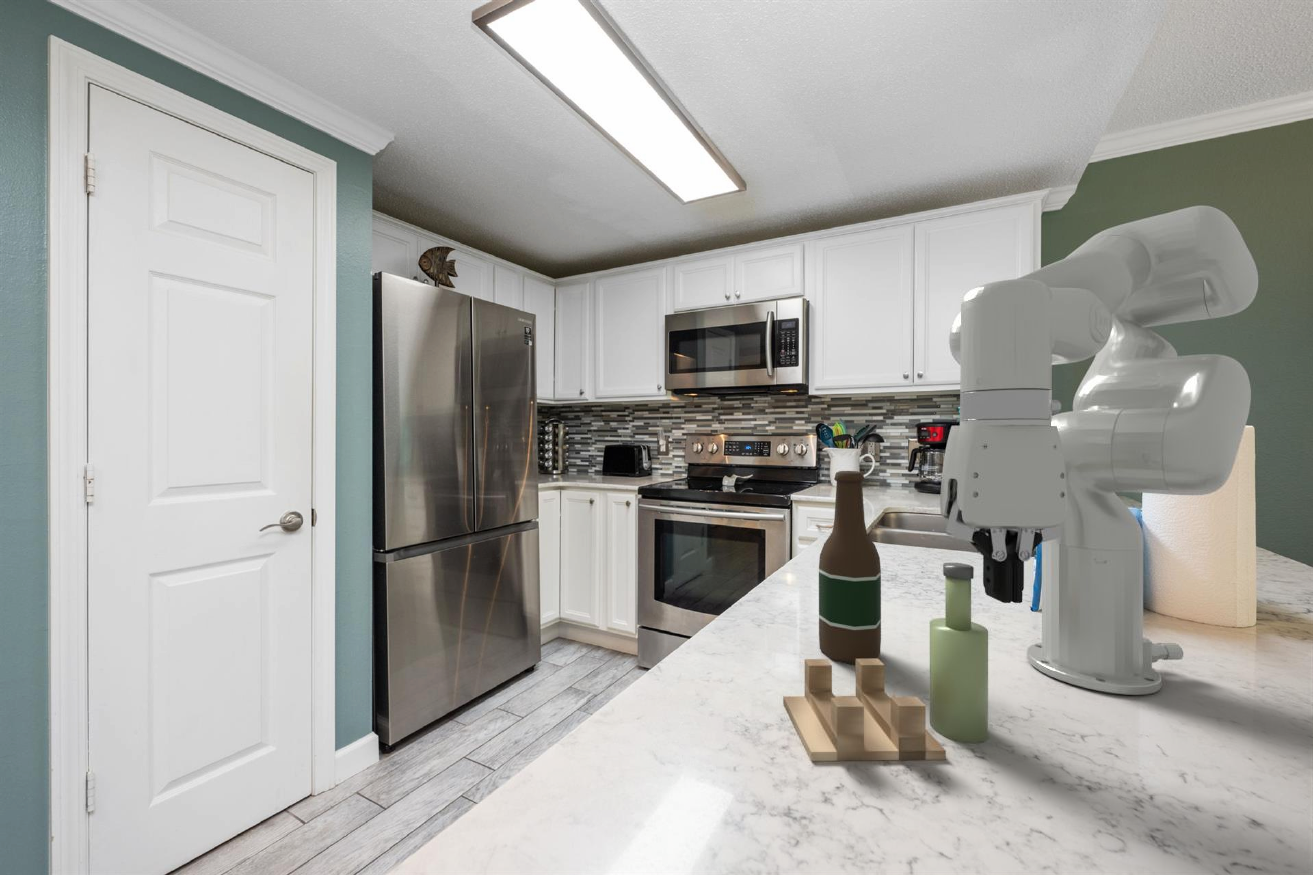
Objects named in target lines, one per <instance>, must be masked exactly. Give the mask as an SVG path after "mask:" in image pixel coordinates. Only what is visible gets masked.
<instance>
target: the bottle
mask: <svg viewBox="0 0 1313 875" xmlns="http://www.w3.org/2000/svg"><path fill="white" fill-rule="evenodd" d="M942 567H943V568H942V575H943V576H945V580H944V581H945V585H944V586H945V588H944V590H945V593H944V596H945V609H944V610H945V611H944V613H945V617H941V618H940V617H938V618H934V619H931V620H930V621H929V725H930V727H931V728H932V729H933V730H934V731H935V732H936V733H938V734H939V735H942V736H943V737H945V738H947V739H950V740H953V741H957V742H959V743H960V742H962V743H967V744H978V743H983V742H985V741H986V740H987V739H988V738H989V630H988V628H986V627H985V626H983V625H981V624H978V623H976V622H973V621H972V580H973V579H974V578H975V577H974V572H975V571H974V569H975V568H974V566H973V565H970V564H967V563H961V562H944V563H943V564H942Z"/></svg>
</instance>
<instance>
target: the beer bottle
mask: <svg viewBox="0 0 1313 875" xmlns="http://www.w3.org/2000/svg"><path fill="white" fill-rule="evenodd" d="M833 480H834V481H835V482H836V488H835V502H834V505H835V506H834V517H833V518H834V519H833V520H834V522H833V525H832V530H831V531H832V532H831V533H830V535H829V536H828V537H827V538H826V540H825V542H824V543H823V545H822V549H821V551H820V554H819V559H818V560H819V561H818V562H819V563H818V640H819V644H818V645H819V649H820V650H819V651H820V652H822V653H823V654H824V655H825V656H827V657H828V658H829V659H830V660H831V661H834V662H840V663H845V664H848V665H853V666H856V659H878V657H879V656H880V654H881V647H882V646H881V644H882V568H881V558H880V554H879V552H878V550H877V547H876V545H875V543H874V541H873V540H872V538H871V537H870V536H869V534H868V532H867V526H866V522H865V507H864V493H863V492H864V491H863V482H864V481H865V476H864V473H863V472H861V471H858V470H857V471H856V470H839V471H837V472H835V474H834V478H833Z"/></svg>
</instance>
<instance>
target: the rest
mask: <svg viewBox="0 0 1313 875" xmlns="http://www.w3.org/2000/svg"><path fill="white" fill-rule="evenodd" d="M782 701H783V706H784V708H785V711H786V712H787V715H788V717H789V718H790V721H791V723H792V725H793V727H794V728H795V731H796V733H797V735H798V737H799V739H800V741H801V743H802V745H803V747H804V749H805V751H806V754H807V756H808V757H809V759H810V761H811V762H823V761H824V762H825V761H827V762H832V761H833V762H834V761H835V762H840V761H850V762H851V761H852V762H853V761H920V760H922V761H923V760H924V761H927V760H928V761H932V760H933V761H935V760H936V761H937V760H941V761H942V760H946V759H947V753H946V752H947V750H946V749H945V748H944V747H943V746H942V745H941V743H939V741H937V739H936V738H935V737H934V736H933V735H932V734H931V733H930V731H928V730H927V728H926V726H927V725H926V722H927V721H926V716H927V714H926V711H927V710H926V704H925V703H923V701H922V700H921V699H919V698H918V697H917V696H900V697H899V696H896V695H888V694H887V693H886V692H885V664H884V663H883V662H882V661H881V660H880V659H879V658H877V659H856V665H855V695H834V692H833V665H832V664H831V663H830V661H829V659H828V658H804V696H798V695H797V696H795V695H794V696H782Z"/></svg>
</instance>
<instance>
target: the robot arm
mask: <svg viewBox="0 0 1313 875" xmlns="http://www.w3.org/2000/svg"><path fill="white" fill-rule="evenodd" d="M1242 236H1243V235H1242V234H1241V232H1240V231H1239V229H1238V227H1237V225H1236V224H1235V223H1234V222H1233V220H1232V219H1231V217H1229V216H1228V215H1227V213H1225V212H1223V211H1222V210H1220V209H1218V208H1216V207H1213V206H1210V205H1195V206H1194V205H1193V206H1190V207H1185V208H1182V209H1176V210H1174V211H1173V210H1172V211H1170V212H1167V213H1166V212H1165V213H1162V214H1158V215H1154V216H1149V217H1146V218H1141V219H1137V220H1134V221H1130V222H1129V221H1128V222H1127V223H1123V224H1119V225H1116V226H1112V227H1109V228H1107V229H1105V230H1102V231H1100V232H1098V233H1096V234H1095V235H1093V236H1092V237H1090V238H1089V239H1087V241H1085V242H1084V243H1083V244H1081V245H1079V247H1077V248H1076V249H1075V250H1073V251H1072V252H1071V253H1070V254H1068V255H1067V256H1066V257H1065V258H1062V259H1061V260H1057V261H1055V262H1052V263H1050V264H1048V265H1047V264H1046V265H1045V266H1043V267H1040V268H1038V269H1036V270H1034V271H1031V272H1030V273H1027V274H1025V275H1023V276H1020V277H1018V278H1016V279H1014V278H1013V279H1006V280H998V281H992V282H988V283H985V284H983V285H982V284H981V285H979V286H977V287H974V288H971V289H970V290H969V291H968V292H966V294H965V295H964V297H963V299H962V301H961V304H960V312H959V313H958V314H957V315H956V317H955V319H954V320H953V322H952V325H951V328H950V330H949V337H948V340H949V341H948V344H949V349H950V352H951V355H952V357H953V359H954V360H955V361H956V362H957V364H959V365H960V378H959V379H960V380H959V381H960V390H959V391H960V396H959V398H960V399H959V406H960V407H959V408H960V409H959V425H951V427H950V429H949V434H948V438H947V441H946V447H945V451H944V458H943V464H942V474H941V483H940V498H939V499H940V500H939V502H940V503H939V504H940V515H941V517H942V518H943V519H945V520H947V525H946V528H945V533H946V535H947V536H949V537H952V538H955V539H958V540H961V541H966V542H969V543H970V544H971V545H972V546H973V547H974V548H975V549H976V552H977V553H978V554H979V555H980V556H982V559H983V560H982V563H983V564H982V583H983V587H984V593H985V595H986V596H987V597H989V598H993V599H995V600H997V601H998V602H1001V603H1003V604H1010V603H1011V602H1012V603H1014V604H1022V602H1023V594H1024V593H1023V591H1024V589H1025V562H1028V561H1030V559H1031V558H1032V554H1033V553H1032V552H1033V551H1034V550H1035V549H1036V548H1037V547H1038V546H1040V544H1041V642H1035V643H1034V644H1031V645H1030V646H1029V647H1027V649H1026V660H1027V661H1028V663H1029V664H1030V665H1031V666H1033V668H1035V669H1037V670H1038V671H1040V672H1041V673H1043V674H1045V675H1047V676H1049V677H1052V678H1054V679H1056V680H1059V681H1061V682H1064V683H1067V684H1069V685H1074V686H1077V687H1080V688H1084V689H1088V690H1092V691H1093V690H1094V691H1097V692H1104V693H1109V694H1115V695H1128V696H1129V695H1130V696H1139V695H1140V696H1142V695H1149V694H1154V693H1157V692H1158V691H1160V690H1161V688H1162V676H1161V674H1160V672H1158V671H1157V670H1156V669H1155V668H1153V663H1157V662H1158V661H1159V660H1162V661H1163V660H1164V661H1179V660H1182V659H1183V657H1184V651H1183V648H1182V647H1181V646H1180V645H1179V644H1178V643H1177V642H1156V643H1153V642H1152V641H1151V640H1150V639H1149V638H1148V637H1145V636H1144V533H1143V530H1142V527H1141V524H1140V522H1139V520H1138V518H1137V517H1136V515H1135V514H1134V513H1133V512H1132V510H1131V509H1130V508H1129V507H1128V506H1127V505H1126V504H1125V503H1124V502H1123V500H1121V499H1120V497H1119V496H1118V495H1117V494H1116V493H1117V492H1118V493H1119V492H1120V493H1122V492H1123V493H1126V492H1128V493H1140V494H1141V493H1142V494H1155V495H1156V494H1157V495H1158V494H1159V495H1169V496H1170V495H1172V496H1173V495H1174V496H1175V495H1176V496H1204V495H1209V494H1212V493H1214V492H1217V491H1219V490H1220V489H1221V488H1222V487H1223V486H1225V484H1226V483H1227V481H1228V480H1229V478H1230V475H1231V474H1232V470H1233V469H1234V465H1235V463H1236V462H1235V461H1236V458H1237V455H1238V452H1239V448H1240V445H1241V442H1242V438H1243V435H1244V432H1245V428H1246V425H1247V421H1248V419H1249V414H1250V408H1251V401H1252V388H1251V382H1250V379H1249V378H1250V377H1249V375H1248V373H1247V371H1246V369H1245V368H1244V367H1243V365H1242V364H1241V363H1240V362H1239V361H1238V360H1236V359H1235V358H1234V357H1233V358H1232V357H1231V356H1227V355H1223V354H1216V353H1211V354H1210V353H1205V354H1189V355H1179V354H1178V353H1177V350H1176V348H1174V346H1173V345H1172V344H1171V343H1170V342H1169V341H1167V340H1166V339H1165V338H1163V337H1162V336H1160V335H1159V334H1157V333H1156V332H1154V331H1153V330H1151V329H1149V327H1157V326H1163V325H1164V326H1165V325H1171V324H1178V323H1179V324H1181V323H1186V322H1187V323H1188V322H1193V321H1195V322H1196V321H1201V320H1202V321H1203V320H1209V319H1217V318H1223V317H1228V316H1231V315H1236V314H1238V313H1241V312H1242V311H1244V310H1246V309H1247V308H1248V307H1249V306H1250V305H1251V304H1252V303H1253V301H1254V300H1255V298H1256V296H1257V292H1258V289H1259V273H1258V269H1257V266H1256V262H1255V260H1254V258H1253V256H1252V254H1251V252H1250V250H1249V249H1248V247H1247V246H1248V245H1247V244H1246V242H1245V240H1244V238H1243V237H1242ZM1094 356H1095V357H1094ZM1092 357H1094V358H1093V361H1092V363H1091V365H1090V366H1089V368H1088V369H1087V372H1086V373H1085V375H1084V376H1083V378H1082V380H1081V382H1080V383H1079V386H1078V388H1077V390H1076V392H1075V394H1074V397H1073V403H1072V410H1071V411H1064V412H1061V413H1060V411H1061V410H1062V403H1061V402H1060V400H1058V399H1053V396H1052V395H1053V391H1052V386H1053V385H1052V383H1053V382H1052V381H1053V380H1052V378H1053V375H1052V372H1053V367H1052V366H1054V365H1063V364H1064V365H1065V364H1072V363H1078V362H1081V361H1085V360H1087V359H1091V358H1092ZM1053 414H1054V415H1053ZM970 527H972V528H970Z"/></svg>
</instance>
